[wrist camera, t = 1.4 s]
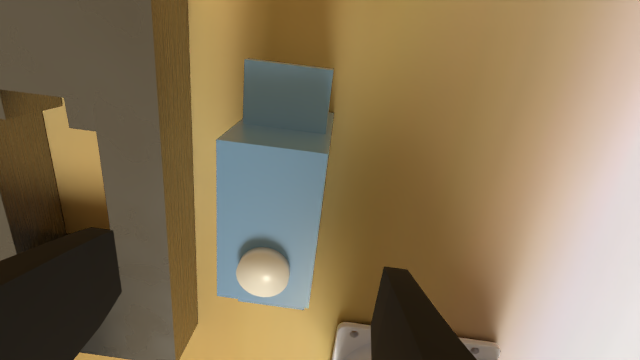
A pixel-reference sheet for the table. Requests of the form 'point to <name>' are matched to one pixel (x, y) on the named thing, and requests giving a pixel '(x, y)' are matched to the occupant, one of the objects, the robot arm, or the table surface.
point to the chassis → (107, 151)
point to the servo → (273, 184)
